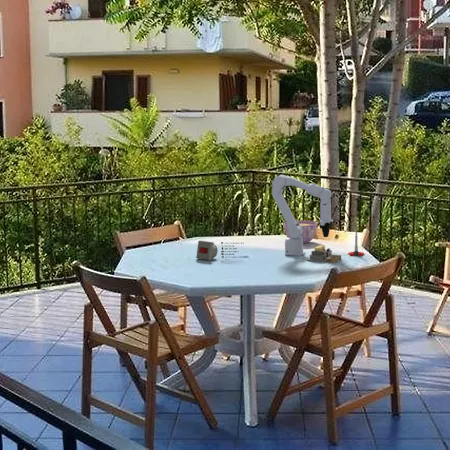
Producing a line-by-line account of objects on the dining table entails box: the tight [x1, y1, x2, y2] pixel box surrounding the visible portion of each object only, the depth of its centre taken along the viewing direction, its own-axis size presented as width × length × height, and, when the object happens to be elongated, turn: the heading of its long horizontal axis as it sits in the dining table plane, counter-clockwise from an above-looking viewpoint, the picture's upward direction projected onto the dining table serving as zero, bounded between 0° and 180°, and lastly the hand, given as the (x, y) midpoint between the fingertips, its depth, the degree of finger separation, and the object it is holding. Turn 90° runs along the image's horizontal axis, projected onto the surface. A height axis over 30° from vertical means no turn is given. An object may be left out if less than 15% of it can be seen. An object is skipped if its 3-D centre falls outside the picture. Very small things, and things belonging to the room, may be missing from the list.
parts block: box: [325, 254, 342, 264], centre depth 411 cm, size 5×11×2 cm, turn 157°
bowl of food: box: [283, 220, 318, 245], centre depth 467 cm, size 20×20×12 cm
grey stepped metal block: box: [306, 247, 334, 263], centre depth 417 cm, size 10×17×5 cm, turn 157°
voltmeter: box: [195, 240, 243, 261], centre depth 423 cm, size 27×11×10 cm, turn 82°
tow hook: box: [347, 231, 365, 257], centre depth 426 cm, size 8×13×9 cm
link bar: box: [314, 244, 326, 254], centre depth 416 cm, size 3×9×4 cm, turn 157°
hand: (325, 236), depth 425 cm, fingers closed
